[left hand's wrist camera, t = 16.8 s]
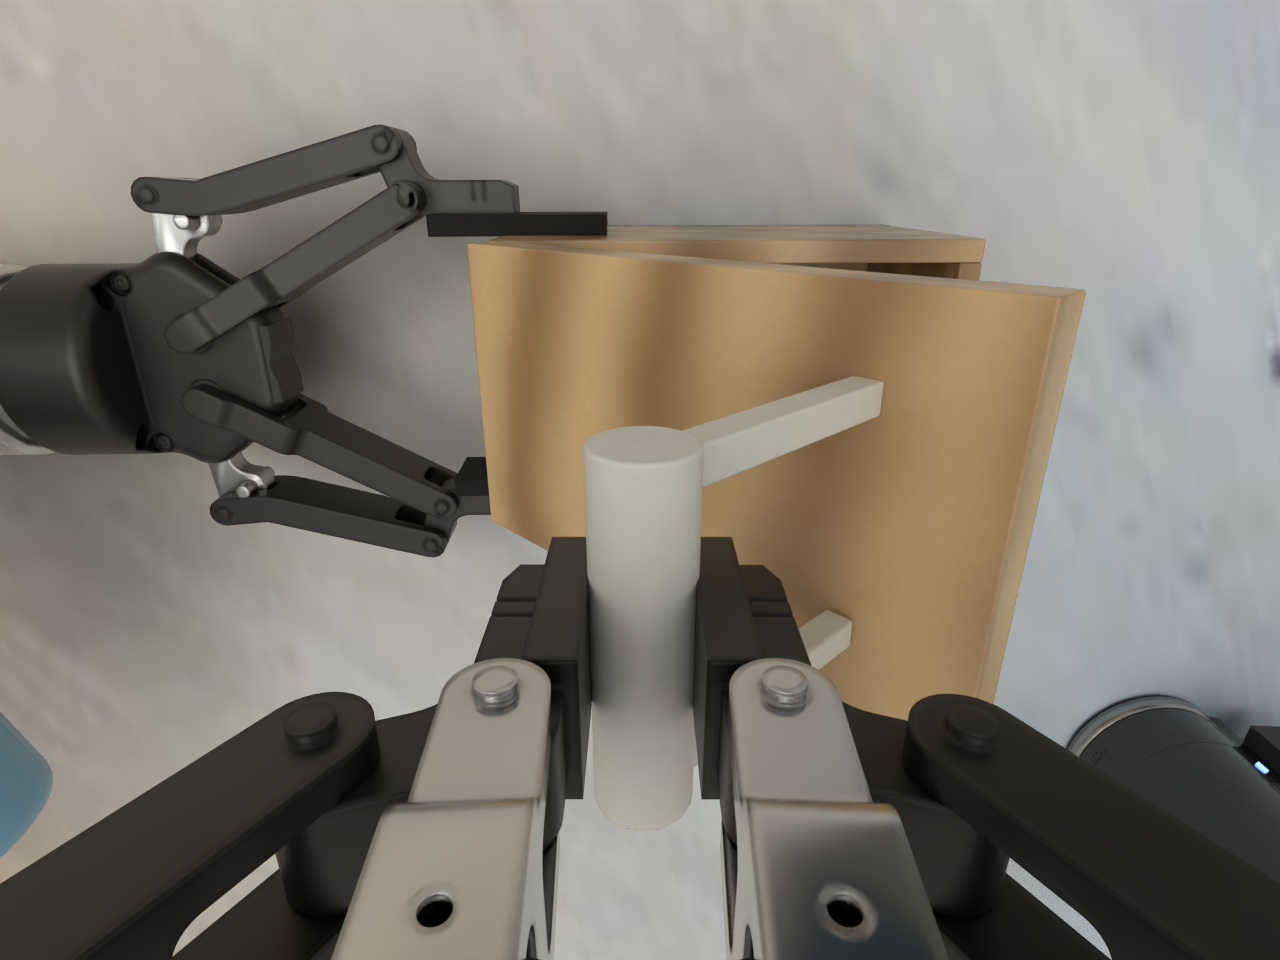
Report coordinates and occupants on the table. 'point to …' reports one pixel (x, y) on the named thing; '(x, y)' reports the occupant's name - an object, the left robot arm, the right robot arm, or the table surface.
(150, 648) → the table surface
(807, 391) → the lid
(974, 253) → the chest
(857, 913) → the left robot arm
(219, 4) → the table surface
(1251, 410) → the table surface
